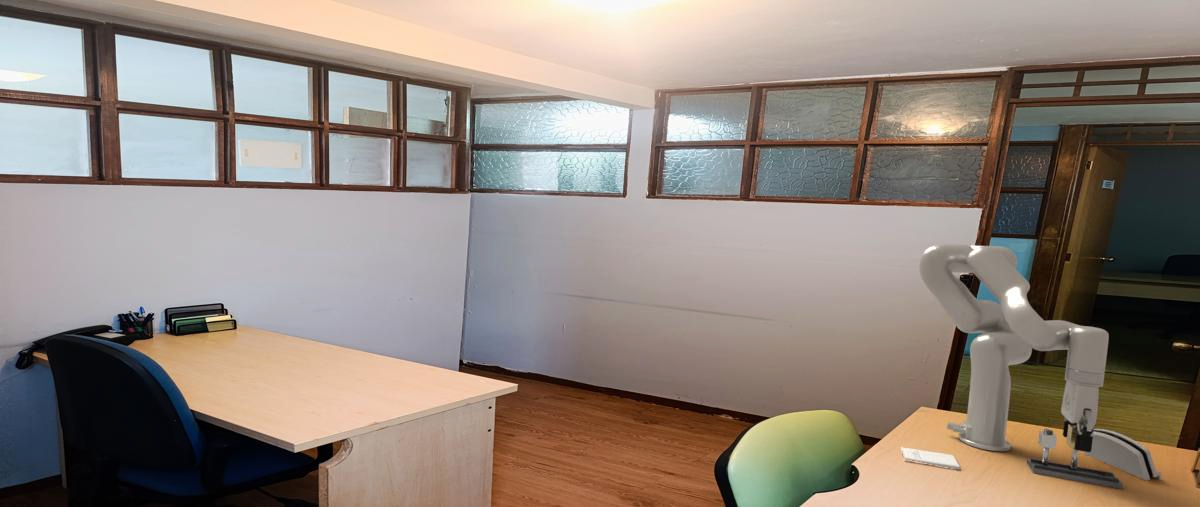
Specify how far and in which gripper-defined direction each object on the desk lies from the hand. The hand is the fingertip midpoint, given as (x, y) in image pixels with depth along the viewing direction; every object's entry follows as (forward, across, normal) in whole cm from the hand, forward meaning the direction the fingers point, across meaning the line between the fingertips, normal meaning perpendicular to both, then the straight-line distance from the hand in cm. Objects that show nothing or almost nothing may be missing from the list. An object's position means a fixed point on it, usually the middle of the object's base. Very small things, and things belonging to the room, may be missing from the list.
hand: (1076, 444), depth 154 cm
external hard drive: (+9, +8, -33) cm, 35 cm away
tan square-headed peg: (+6, 0, 0) cm, 6 cm away
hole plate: (+8, 0, 0) cm, 8 cm away
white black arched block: (+8, -14, +13) cm, 21 cm away
